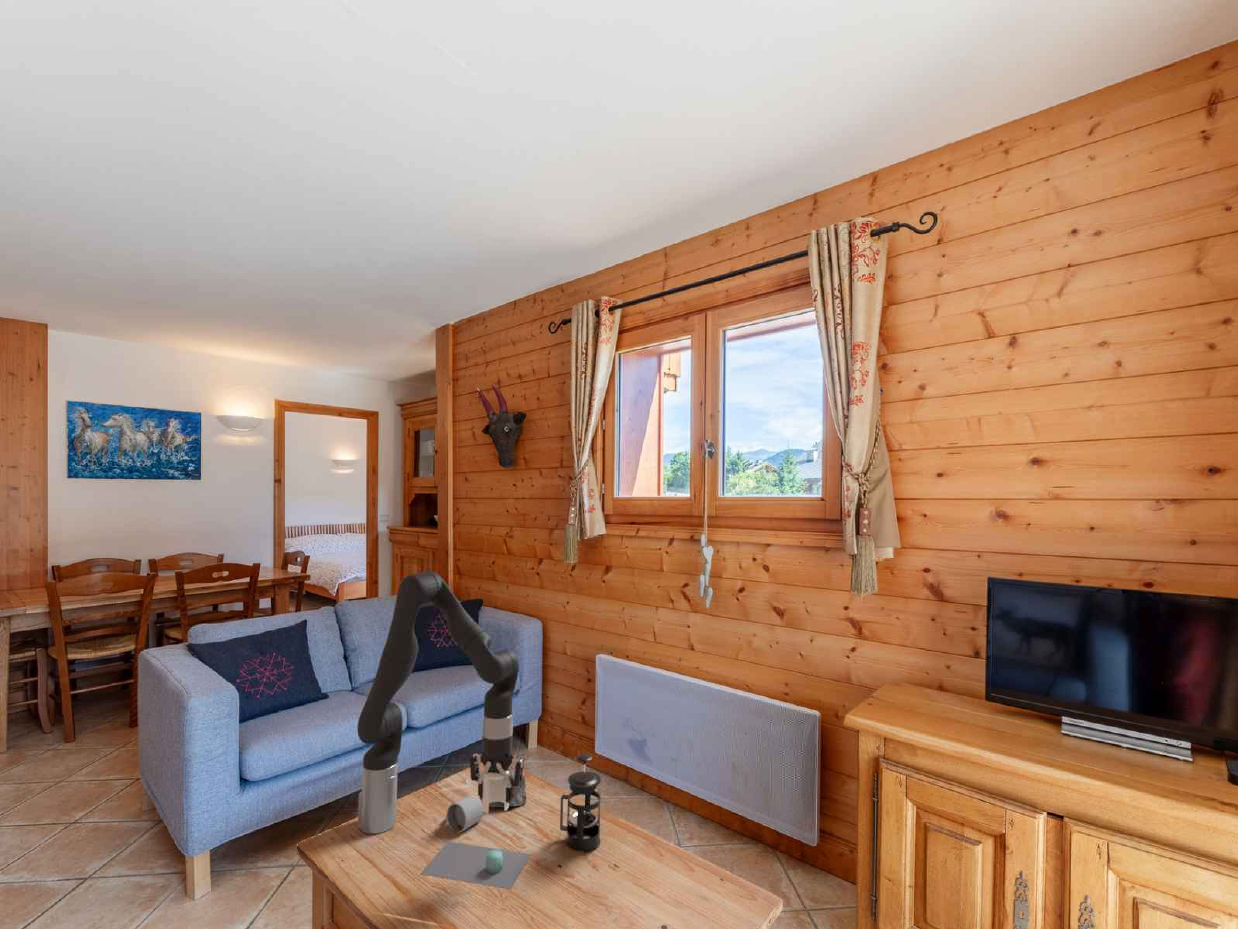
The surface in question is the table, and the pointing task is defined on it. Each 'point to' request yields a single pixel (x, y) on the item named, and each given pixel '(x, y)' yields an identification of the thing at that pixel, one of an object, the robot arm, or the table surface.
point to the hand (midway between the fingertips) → (495, 799)
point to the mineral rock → (518, 796)
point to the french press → (582, 810)
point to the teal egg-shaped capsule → (494, 862)
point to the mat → (475, 865)
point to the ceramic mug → (464, 813)
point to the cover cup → (494, 790)
